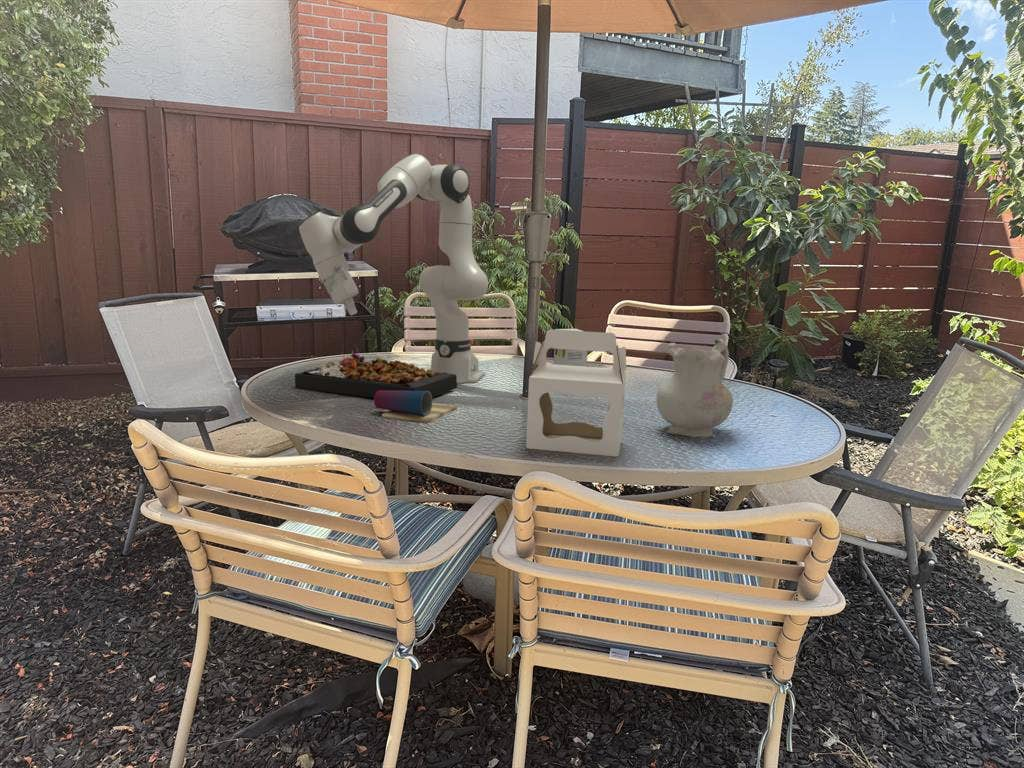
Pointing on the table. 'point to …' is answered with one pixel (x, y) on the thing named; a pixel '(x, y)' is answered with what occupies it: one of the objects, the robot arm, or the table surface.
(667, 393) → the ceramic pitcher
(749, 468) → the table surface
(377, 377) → the food platter
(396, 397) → the cup
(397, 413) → the wooden board
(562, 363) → the supplement box
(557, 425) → the gable box
